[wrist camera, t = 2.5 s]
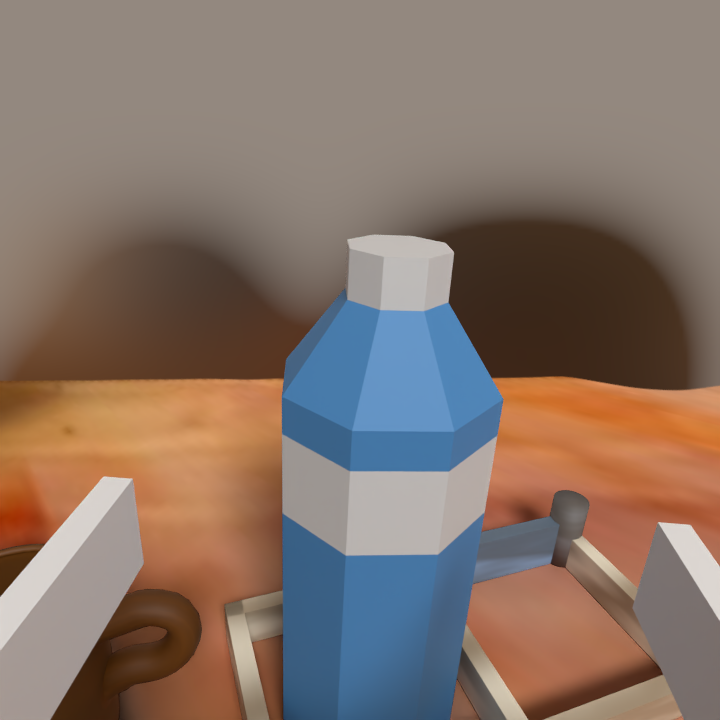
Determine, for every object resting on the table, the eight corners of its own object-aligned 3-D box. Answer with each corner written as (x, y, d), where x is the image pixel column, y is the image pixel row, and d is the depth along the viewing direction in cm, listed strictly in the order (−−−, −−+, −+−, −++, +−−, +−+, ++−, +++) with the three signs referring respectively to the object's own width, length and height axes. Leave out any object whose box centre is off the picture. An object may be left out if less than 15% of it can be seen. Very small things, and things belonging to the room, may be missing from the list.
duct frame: (224, 626, 35) (220, 563, 33) (561, 541, 44) (574, 487, 42) (273, 885, 24) (272, 812, 22) (718, 700, 32) (746, 636, 30)
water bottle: (318, 828, 26) (337, 290, 16) (256, 661, 33) (242, 227, 23) (485, 740, 30) (583, 267, 20) (395, 609, 37) (434, 219, 27)
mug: (216, 661, 33) (207, 531, 29) (200, 806, 26) (186, 661, 23) (-8, 680, 31) (-48, 544, 28) (-88, 840, 25) (-155, 689, 21)
